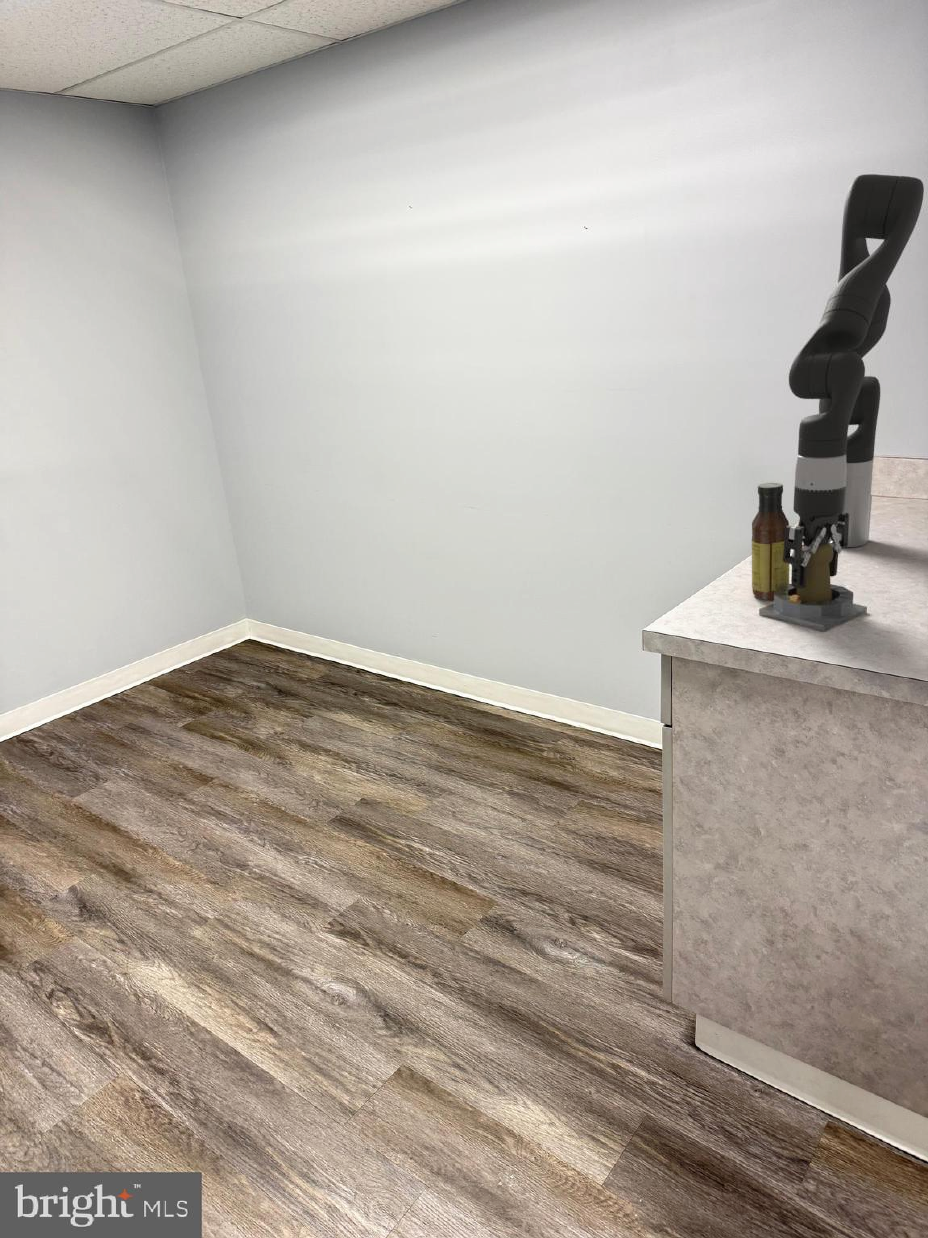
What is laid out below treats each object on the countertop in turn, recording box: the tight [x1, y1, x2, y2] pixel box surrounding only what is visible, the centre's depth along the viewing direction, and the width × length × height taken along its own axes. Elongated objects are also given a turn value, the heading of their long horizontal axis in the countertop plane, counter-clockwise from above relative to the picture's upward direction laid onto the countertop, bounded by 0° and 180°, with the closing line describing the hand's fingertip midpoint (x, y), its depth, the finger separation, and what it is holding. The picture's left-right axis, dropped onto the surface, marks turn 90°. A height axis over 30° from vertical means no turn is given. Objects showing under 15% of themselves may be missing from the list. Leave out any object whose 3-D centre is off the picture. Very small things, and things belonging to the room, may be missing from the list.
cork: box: [796, 543, 833, 602], centre depth 147 cm, size 6×6×11 cm
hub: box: [758, 583, 868, 633], centre depth 148 cm, size 12×12×4 cm
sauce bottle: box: [751, 482, 790, 601], centre depth 155 cm, size 6×6×20 cm
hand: (814, 581), depth 147 cm, fingers open, 8 cm apart
